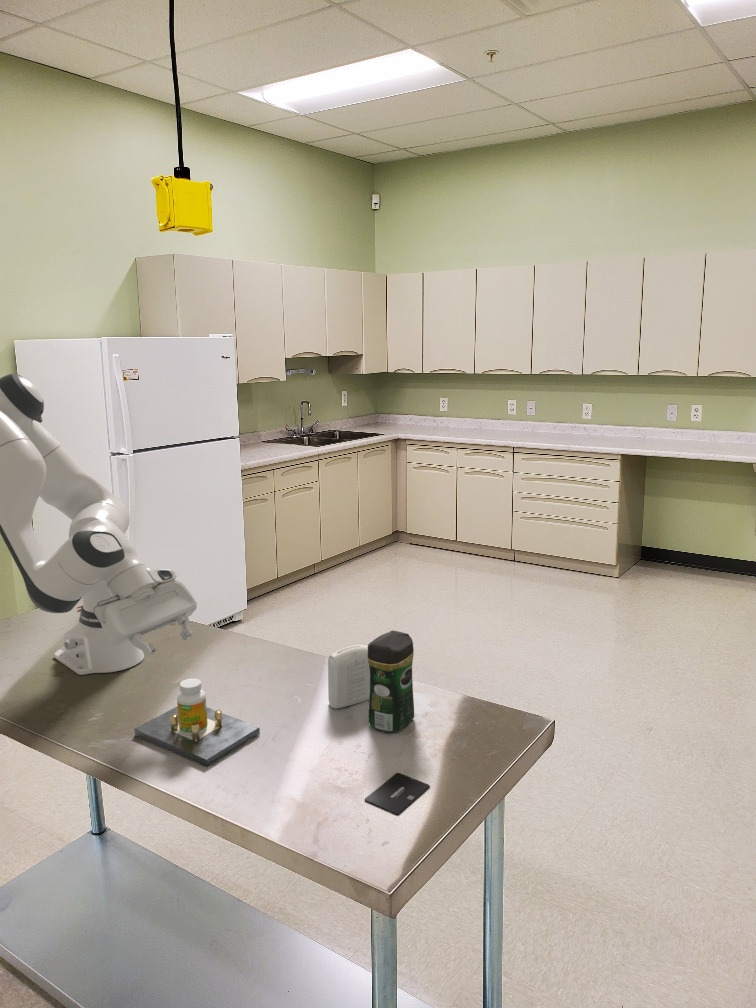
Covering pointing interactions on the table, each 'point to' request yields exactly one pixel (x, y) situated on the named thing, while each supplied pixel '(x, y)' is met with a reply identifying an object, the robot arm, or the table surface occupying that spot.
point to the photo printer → (348, 676)
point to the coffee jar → (391, 681)
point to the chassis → (198, 735)
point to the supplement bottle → (191, 706)
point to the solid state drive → (397, 793)
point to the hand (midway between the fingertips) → (170, 645)
